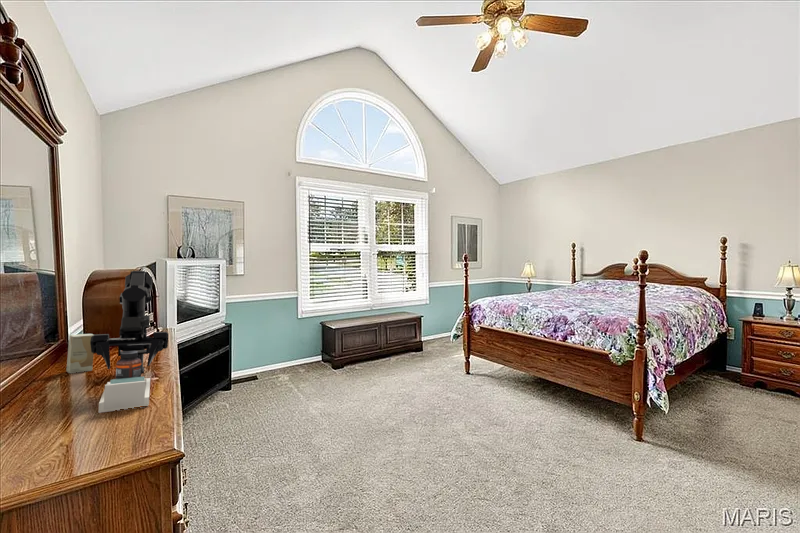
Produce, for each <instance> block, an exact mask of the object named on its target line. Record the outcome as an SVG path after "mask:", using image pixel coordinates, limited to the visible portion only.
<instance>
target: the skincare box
mask: <svg viewBox="0 0 800 533" xmlns="http://www.w3.org/2000/svg"><path fill="white" fill-rule="evenodd" d="M93 335H94V334H93V333H81V334H80V333H79V334H78V333H77V334H69V335H68V336H69V338H68V347H67V359H66V370H65V372H67V373H68V374H76V372H77V373H84V371H85V372H92V371H93V365H94V354H95V353H92V352H91V345H90V340H91V337H92V336H93Z"/></svg>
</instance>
